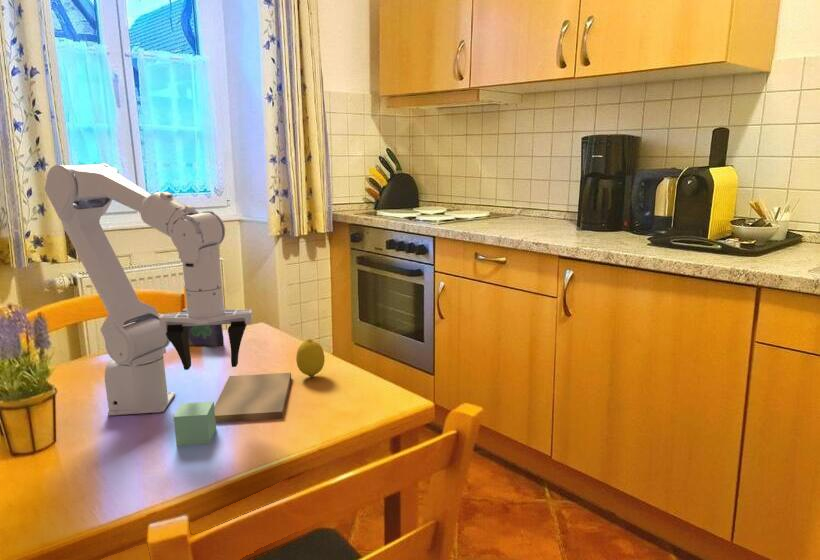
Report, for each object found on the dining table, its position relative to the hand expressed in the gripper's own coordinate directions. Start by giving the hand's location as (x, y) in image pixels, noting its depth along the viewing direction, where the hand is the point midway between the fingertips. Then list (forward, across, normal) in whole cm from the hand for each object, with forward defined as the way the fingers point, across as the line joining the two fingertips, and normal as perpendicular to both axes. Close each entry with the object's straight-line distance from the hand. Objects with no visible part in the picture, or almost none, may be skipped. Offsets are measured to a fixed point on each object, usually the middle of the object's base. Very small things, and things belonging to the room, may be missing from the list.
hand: (211, 366), depth 99 cm
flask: (+10, -10, +41) cm, 43 cm away
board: (+9, +5, +7) cm, 13 cm away
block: (+10, -2, -6) cm, 12 cm away
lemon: (+10, +16, +16) cm, 24 cm away
